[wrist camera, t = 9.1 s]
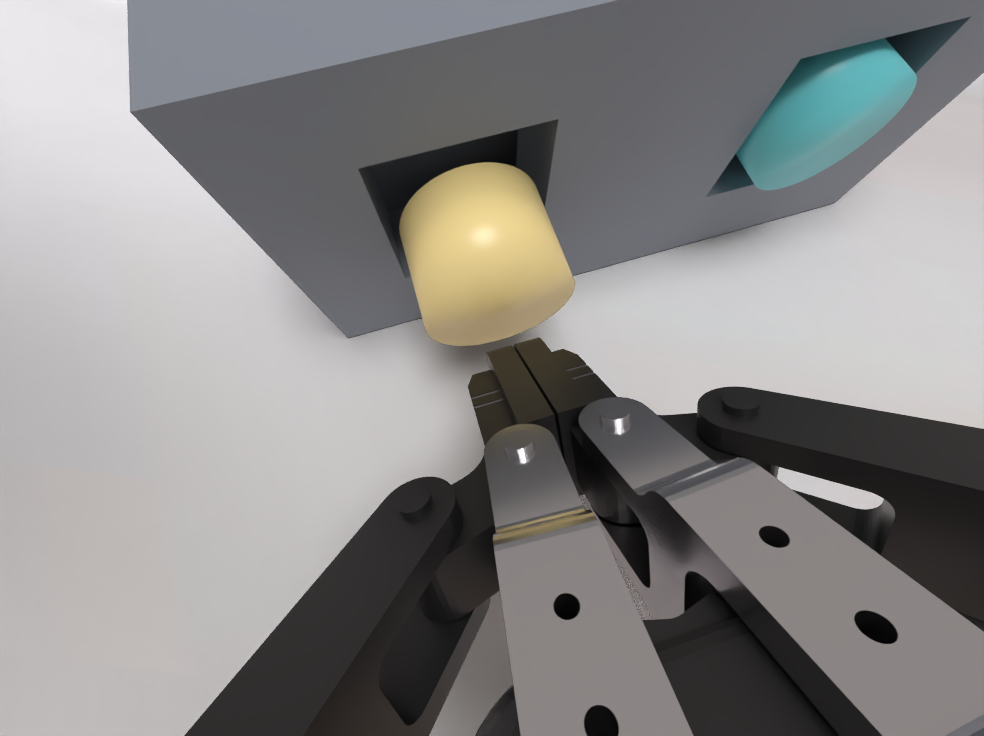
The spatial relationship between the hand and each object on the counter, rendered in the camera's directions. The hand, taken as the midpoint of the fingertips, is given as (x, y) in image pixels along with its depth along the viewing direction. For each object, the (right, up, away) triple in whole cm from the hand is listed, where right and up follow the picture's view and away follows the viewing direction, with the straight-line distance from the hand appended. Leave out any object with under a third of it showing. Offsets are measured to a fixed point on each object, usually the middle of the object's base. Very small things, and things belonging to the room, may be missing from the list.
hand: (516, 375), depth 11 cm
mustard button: (-1, +3, +3) cm, 4 cm away
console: (+3, +9, +9) cm, 13 cm away
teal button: (+10, +8, +5) cm, 14 cm away
